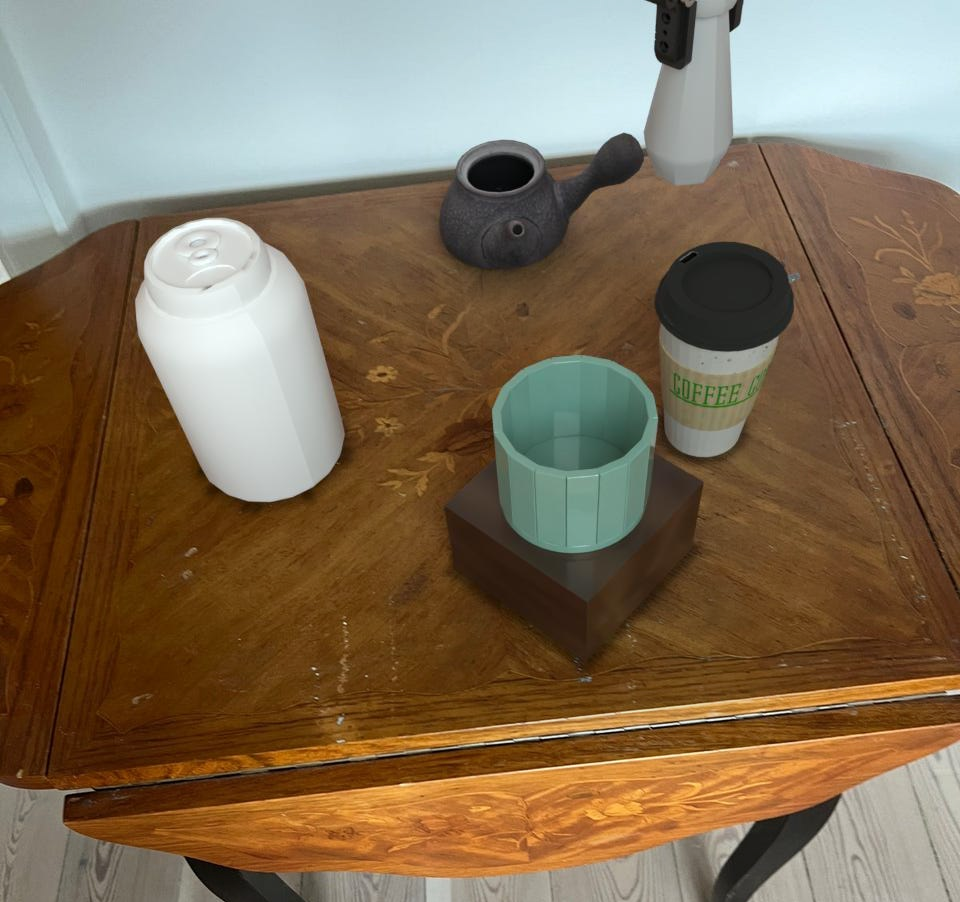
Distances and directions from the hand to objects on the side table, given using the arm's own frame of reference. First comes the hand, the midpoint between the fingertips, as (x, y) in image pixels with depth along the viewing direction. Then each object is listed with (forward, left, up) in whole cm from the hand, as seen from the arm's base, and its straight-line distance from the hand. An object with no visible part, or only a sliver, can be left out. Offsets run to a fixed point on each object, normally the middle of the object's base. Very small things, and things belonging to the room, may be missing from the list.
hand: (697, 43), depth 61 cm
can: (+26, -21, -29) cm, 44 cm away
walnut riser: (+19, +6, -29) cm, 35 cm away
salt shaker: (0, 0, -8) cm, 8 cm away
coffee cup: (+2, +6, -29) cm, 30 cm away
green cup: (+19, +6, -21) cm, 29 cm away
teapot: (-8, -20, -29) cm, 36 cm away
